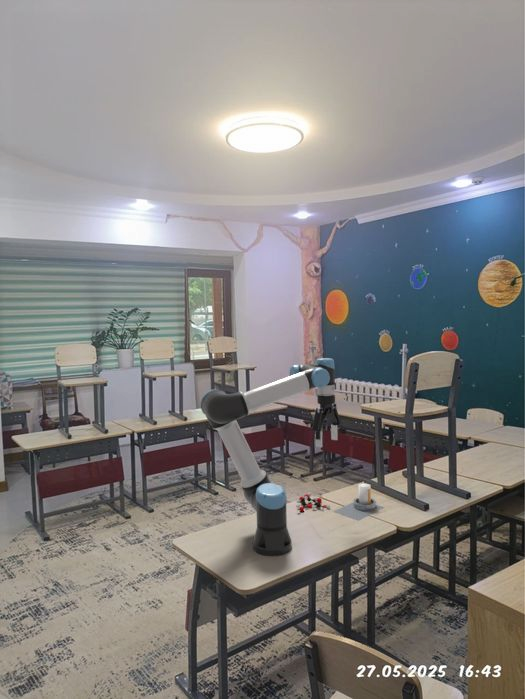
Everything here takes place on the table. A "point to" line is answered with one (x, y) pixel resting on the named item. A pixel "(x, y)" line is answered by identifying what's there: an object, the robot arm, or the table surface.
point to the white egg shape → (364, 494)
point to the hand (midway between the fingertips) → (326, 443)
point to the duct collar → (364, 507)
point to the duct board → (356, 512)
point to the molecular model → (315, 500)
